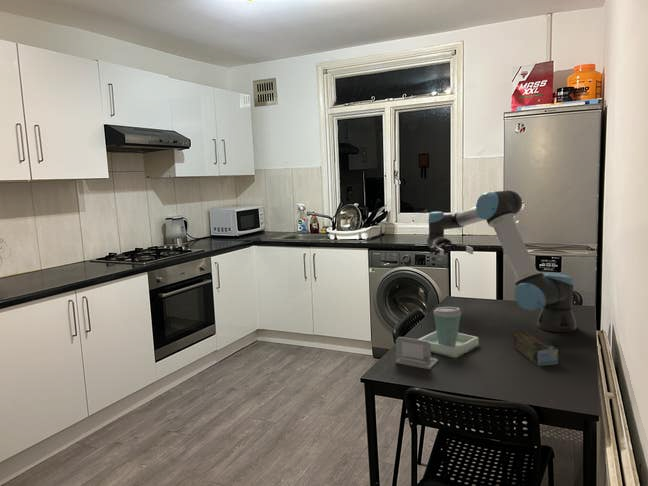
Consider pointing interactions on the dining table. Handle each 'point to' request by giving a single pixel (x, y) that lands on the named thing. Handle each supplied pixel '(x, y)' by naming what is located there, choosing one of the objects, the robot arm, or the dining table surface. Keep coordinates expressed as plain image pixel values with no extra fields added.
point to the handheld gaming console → (414, 353)
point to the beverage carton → (535, 348)
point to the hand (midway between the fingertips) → (457, 251)
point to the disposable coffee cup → (447, 325)
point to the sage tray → (461, 346)
